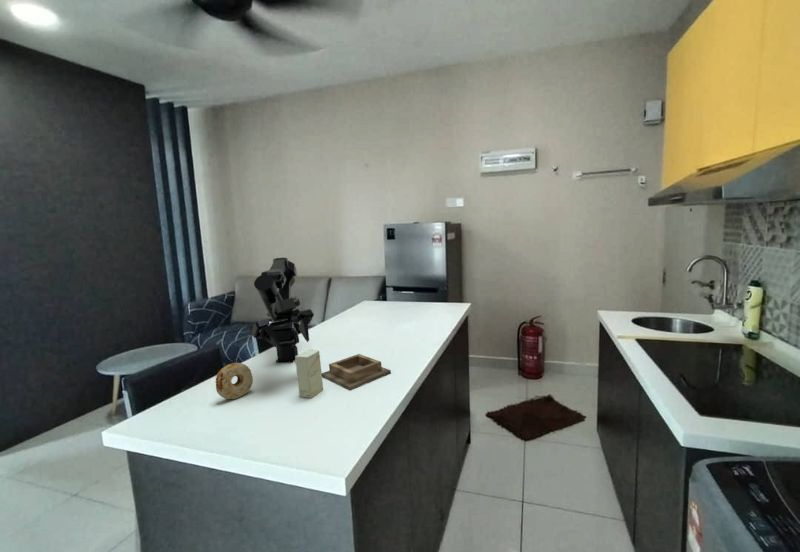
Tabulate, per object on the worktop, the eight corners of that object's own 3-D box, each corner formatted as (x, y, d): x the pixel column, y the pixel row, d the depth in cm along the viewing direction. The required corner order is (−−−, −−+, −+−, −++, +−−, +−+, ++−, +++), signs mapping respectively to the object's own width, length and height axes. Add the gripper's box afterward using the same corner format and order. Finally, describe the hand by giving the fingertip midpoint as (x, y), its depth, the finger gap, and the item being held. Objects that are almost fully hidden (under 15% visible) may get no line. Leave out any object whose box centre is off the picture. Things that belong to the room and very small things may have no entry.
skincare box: (311, 398, 108) (307, 357, 106) (298, 396, 110) (294, 356, 108) (323, 389, 114) (320, 350, 112) (311, 387, 116) (307, 349, 114)
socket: (321, 376, 124) (320, 364, 123) (361, 361, 134) (360, 351, 134) (349, 390, 112) (348, 377, 111) (390, 373, 122) (390, 361, 122)
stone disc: (222, 405, 108) (217, 371, 106) (216, 402, 110) (211, 369, 109) (256, 391, 115) (252, 360, 114) (250, 388, 118) (246, 357, 116)
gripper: (250, 294, 111) (270, 337, 104) (308, 284, 123) (329, 322, 117) (244, 317, 118) (262, 359, 111) (299, 305, 130) (318, 342, 124)
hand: (294, 344), depth 116 cm, fingers open, 9 cm apart
